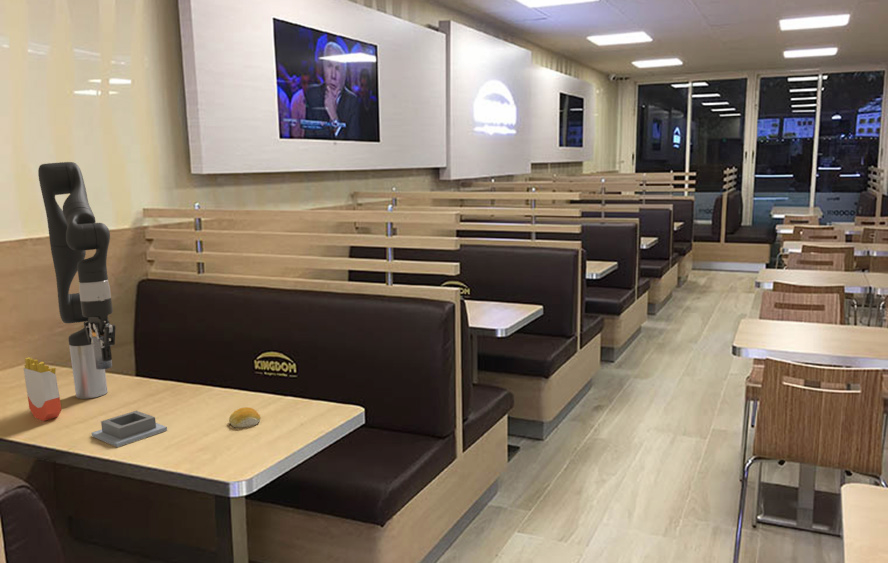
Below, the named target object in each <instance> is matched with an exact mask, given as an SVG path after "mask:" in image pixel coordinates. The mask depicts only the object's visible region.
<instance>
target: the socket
mask: <svg viewBox="0 0 888 563" xmlns="http://www.w3.org/2000/svg"><path fill="white" fill-rule="evenodd" d="M100 424H101V425H100V426H101V429H99V430H96V431H93V432H91V437H92V438H96V439H97V440H100V441H102V442H105V443H106V444H109V445H111V446H113V445H114V447H115V448H119V446H120V447H123V446H126V445H128V444H131V442H132V443H134V441H135V442H137V441H140V440H143V439H145V438H149V437H152V436H156V435H158V434H160V433H161V434H162V433H164V432H166V431H168V427H167V426H165V425H163V424H160V423H158V422H156V416H153V415H150V414H147V413H144V412H141V411H138V410H134V411H129V412H128V413H124V414H120V415H118V416H114V417H111V418H107V419H104V420H101V421H100ZM125 444H126V445H125ZM122 445H123V446H122Z"/></svg>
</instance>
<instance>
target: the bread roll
mask: <svg viewBox="0 0 888 563" xmlns="http://www.w3.org/2000/svg"><path fill="white" fill-rule="evenodd" d="M260 420H261V415H260V414H259V413H258V411H257V410H256V409H254V408H252V407H241V408H237V409H236V410H234V411H233V412H232V413H231V414H230V415H229V418H228V423H229V424H230V426H232V427H234V428H241V429H242V428H249V427H253V426H256V425H258V423H259V422H260Z"/></svg>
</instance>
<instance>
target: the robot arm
mask: <svg viewBox="0 0 888 563" xmlns="http://www.w3.org/2000/svg"><path fill="white" fill-rule="evenodd" d="M37 172H38V173H37V174H38V181H39V186H40V191H41V195H42V201H43V205H44V210H45V213H46V220H47V227H48V237H49V245H50V251H51V257H52V261H53V266H54V268H53V269H54V272H55V280H56V289H57V300H58V311H59V316H60V317H59V318H60V319H61V321H62V322H63V323H64V324H75V323H83V328H82V329H79V330H78V331H75V332H73V333H72V334H70V335H69V336H68V344H69V345H68V347H69V353H70V360H71V361H70V362H71V366H72V367H71V368H72V369H71V370H72V376H73V383H74V384H73V385H74V392H75V398H77V399H81V400H82V399H84V400H85V399H93V398H94V399H95V398H97V397H101V396H105V395H106V394H108V385H107V376H106V369H101V370H98V369H96V363H95V355H94V347H93V339H92V332H96V336H97V339H98V340H99V341H100V344H101V351H102V359H103V361H105V362H106V361H110V360H112V359H113V357H112V349H111V347H112V346H115V343H116V342H115V341H116V325H115V324H110V320H109V317H108V316H109V315H111V314H113V313H114V310H113V301H112V300H113V299H112V293H111V292H112V291H111V286H110V283H109V276H108V269H107V259H108V258H107V256H108V250H109V246H110V240H111V231H110V230H109V228H108V226H107V225H106V224H105V223H102V222H96V218H95V215H94V212H93V211H92V208H91V206H90V202H89V199H88V194H87V190H86V185H85V180H84V177H83V173H82V170H81V168H80V166H79V165H78V164H77V163H76V162H72V161H64V162H63V161H62V162H61V161H60V162H47V163H41V164H40V165H39V167H38V171H37ZM59 195H68V196H67V197H66V199H65V200H64V202H63V204H62V208H61V207H60V205H59V204H58V202H57V199H56V196H59ZM90 250H91V251H93V250H95V253H94V255H92V256H90V257H88V258H86V255H87V254H86V251H90ZM76 274H78V276H77V277H78V282H79V283H78V284H79V285H78V286H79V287H78V289H79V290H78V292H75V293H70V287H71V285H72V282H73V279H74V278H75V276H76ZM101 335H104V336H101ZM103 339H104V341H103Z"/></svg>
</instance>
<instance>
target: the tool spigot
mask: <svg viewBox="0 0 888 563" xmlns="http://www.w3.org/2000/svg"><path fill="white" fill-rule="evenodd" d="M101 336H104V335H101ZM92 339H93V347H94V355H95V363H96V369H98V370H101V369H105V370H106V369H107V370H108V369H111V368H113V361H112V360H110V361H106V362H105V361H103V359H102V351H101V344H100V341H99V340H98V339H97V336H96V332H92ZM103 341H104V339H103Z"/></svg>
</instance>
